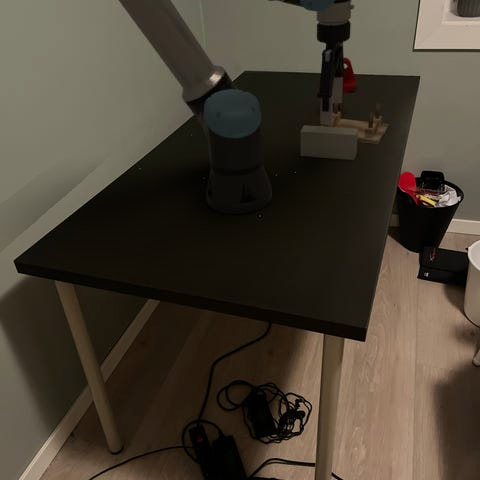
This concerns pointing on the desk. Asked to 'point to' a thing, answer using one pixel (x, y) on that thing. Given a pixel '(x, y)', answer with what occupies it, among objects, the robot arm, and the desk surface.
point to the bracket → (348, 77)
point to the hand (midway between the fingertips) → (331, 112)
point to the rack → (362, 125)
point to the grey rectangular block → (329, 142)
